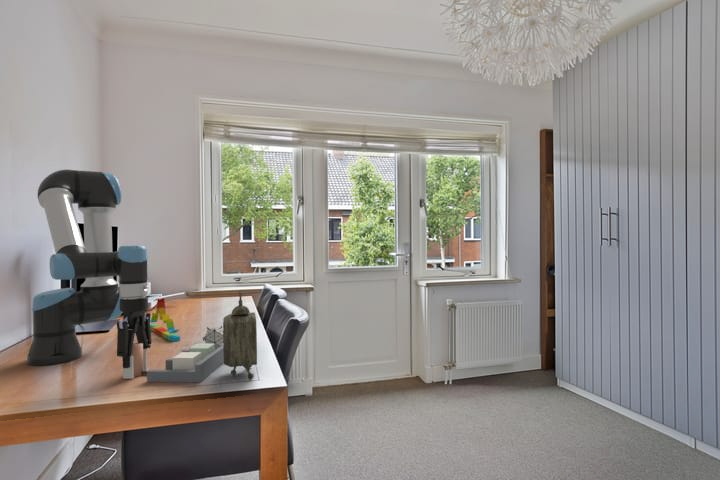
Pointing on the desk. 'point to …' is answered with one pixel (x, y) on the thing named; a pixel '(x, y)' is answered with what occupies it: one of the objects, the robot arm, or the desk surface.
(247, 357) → the tabletop clock
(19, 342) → the desk surface
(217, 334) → the grey spiky lattice polyhedron
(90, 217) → the robot arm
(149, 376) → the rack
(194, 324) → the desk surface
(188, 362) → the corded block
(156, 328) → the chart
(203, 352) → the sage block
